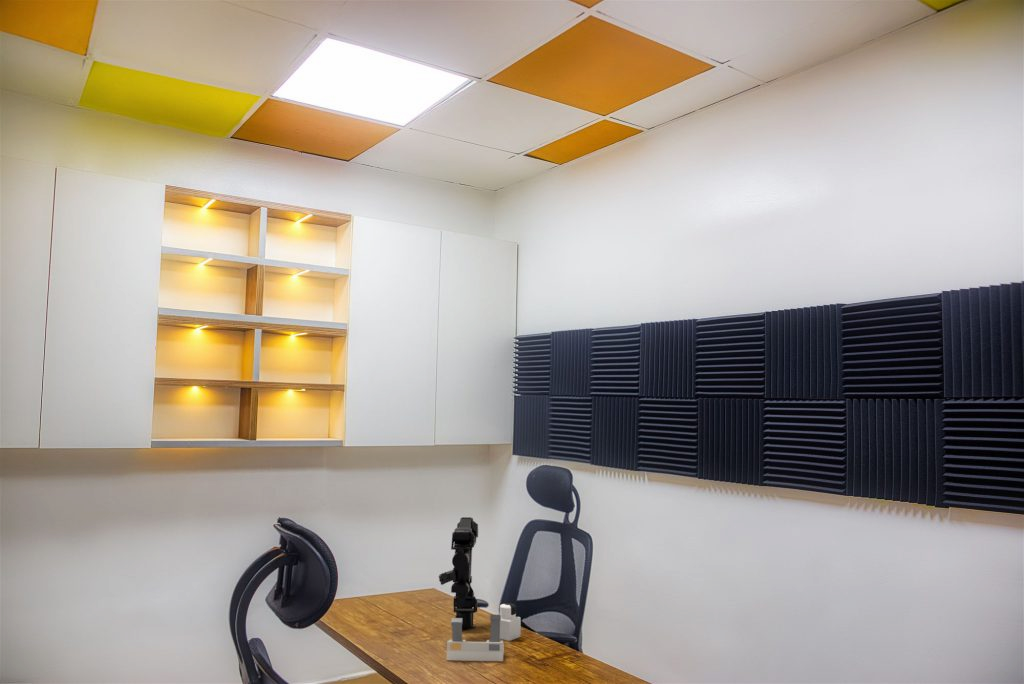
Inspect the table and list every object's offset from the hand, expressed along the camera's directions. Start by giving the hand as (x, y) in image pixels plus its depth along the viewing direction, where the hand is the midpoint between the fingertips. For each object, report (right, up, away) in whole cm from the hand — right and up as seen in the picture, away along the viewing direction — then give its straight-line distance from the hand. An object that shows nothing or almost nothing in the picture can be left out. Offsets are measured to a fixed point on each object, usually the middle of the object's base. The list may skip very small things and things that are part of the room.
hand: (461, 607), depth 275 cm
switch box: (+6, -10, -18) cm, 22 cm away
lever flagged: (0, -7, -17) cm, 18 cm away
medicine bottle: (+17, -13, +4) cm, 22 cm away
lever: (+13, -7, -17) cm, 22 cm away
